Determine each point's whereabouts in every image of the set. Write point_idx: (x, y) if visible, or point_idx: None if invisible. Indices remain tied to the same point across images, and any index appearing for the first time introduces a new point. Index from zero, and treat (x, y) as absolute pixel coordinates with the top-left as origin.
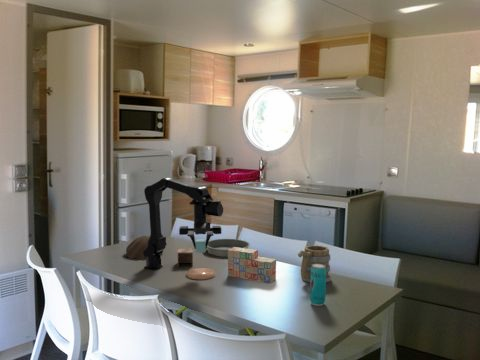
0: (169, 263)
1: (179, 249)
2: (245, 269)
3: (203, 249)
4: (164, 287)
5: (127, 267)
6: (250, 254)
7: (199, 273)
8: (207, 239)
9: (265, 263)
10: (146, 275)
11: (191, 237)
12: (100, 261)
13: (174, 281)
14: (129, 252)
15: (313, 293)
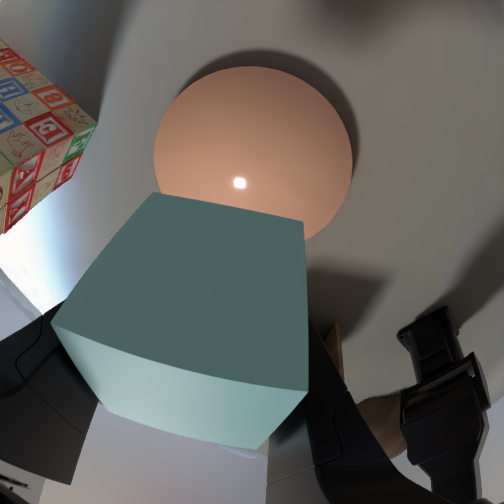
0: (352, 358)
1: None
2: (1, 80)
3: (165, 220)
4: (498, 42)
5: (484, 342)
6: None
7: (265, 148)
8: (21, 357)
9: None
10: (500, 251)
11: (402, 494)
12: (489, 381)
13: (443, 102)
14: None
15: None
